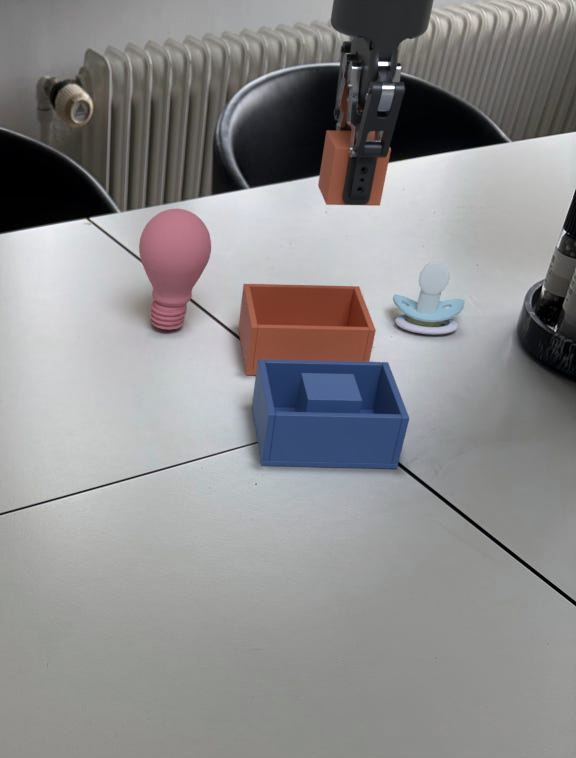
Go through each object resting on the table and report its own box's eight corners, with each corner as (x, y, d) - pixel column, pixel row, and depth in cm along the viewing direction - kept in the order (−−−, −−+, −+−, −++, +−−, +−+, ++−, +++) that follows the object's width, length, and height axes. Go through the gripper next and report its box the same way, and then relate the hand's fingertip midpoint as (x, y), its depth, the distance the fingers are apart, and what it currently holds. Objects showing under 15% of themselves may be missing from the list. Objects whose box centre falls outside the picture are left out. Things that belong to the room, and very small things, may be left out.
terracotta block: (369, 186, 92) (380, 131, 89) (380, 205, 88) (391, 148, 85) (317, 185, 92) (326, 130, 89) (326, 205, 88) (335, 147, 85)
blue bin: (377, 411, 97) (388, 361, 93) (397, 469, 89) (409, 418, 86) (251, 408, 97) (257, 358, 93) (261, 465, 90) (268, 414, 86)
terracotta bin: (350, 332, 108) (359, 286, 105) (366, 377, 101) (376, 329, 98) (238, 329, 108) (243, 283, 105) (245, 375, 101) (251, 327, 98)
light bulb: (216, 324, 109) (227, 208, 101) (181, 349, 105) (190, 230, 97) (158, 306, 112) (165, 192, 104) (122, 330, 108) (126, 213, 100)
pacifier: (462, 341, 107) (457, 314, 112) (478, 283, 103) (472, 257, 107) (390, 335, 108) (387, 309, 112) (403, 278, 104) (400, 252, 108)
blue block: (344, 419, 94) (353, 373, 91) (352, 447, 91) (362, 400, 88) (293, 418, 94) (301, 372, 91) (300, 446, 91) (307, 399, 88)
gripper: (464, -20, 73) (410, 224, 85) (418, -57, 84) (376, 165, 95) (357, -22, 73) (318, 223, 85) (325, -59, 84) (294, 163, 95)
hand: (349, 191), depth 90 cm, fingers closed on terracotta block, 4 cm apart
